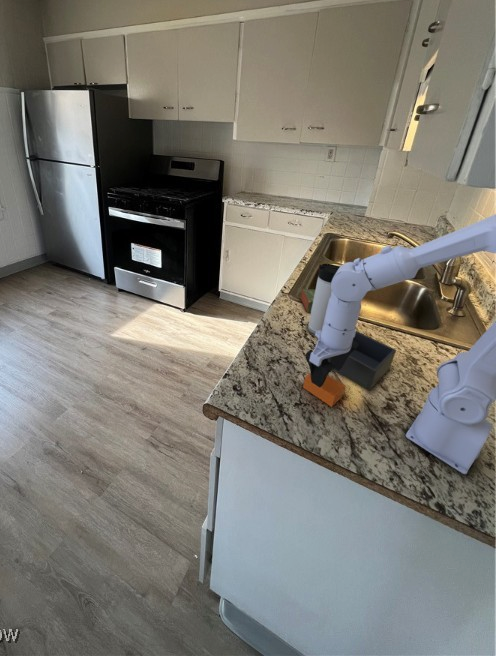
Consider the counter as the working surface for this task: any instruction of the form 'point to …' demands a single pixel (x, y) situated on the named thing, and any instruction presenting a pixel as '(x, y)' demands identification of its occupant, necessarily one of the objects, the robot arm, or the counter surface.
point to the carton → (308, 298)
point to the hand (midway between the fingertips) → (326, 375)
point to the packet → (325, 389)
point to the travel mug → (321, 296)
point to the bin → (367, 361)
